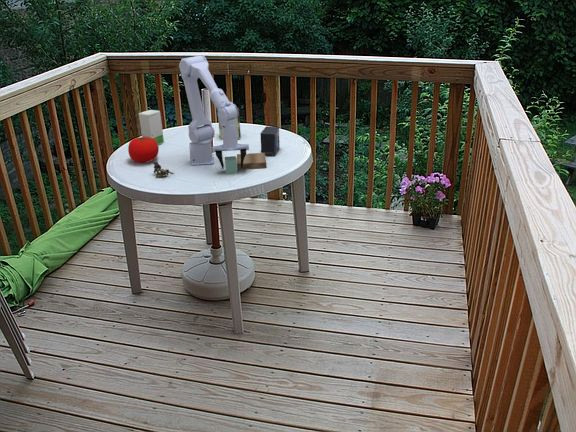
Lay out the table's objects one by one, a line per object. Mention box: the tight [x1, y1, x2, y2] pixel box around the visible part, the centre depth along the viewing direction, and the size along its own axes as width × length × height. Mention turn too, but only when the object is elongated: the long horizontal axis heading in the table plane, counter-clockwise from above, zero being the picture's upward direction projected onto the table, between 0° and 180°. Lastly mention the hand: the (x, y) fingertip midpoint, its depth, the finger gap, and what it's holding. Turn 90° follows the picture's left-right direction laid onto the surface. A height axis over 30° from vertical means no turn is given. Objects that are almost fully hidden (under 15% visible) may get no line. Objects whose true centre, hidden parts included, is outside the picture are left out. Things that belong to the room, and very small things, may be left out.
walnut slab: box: [236, 152, 267, 171], centre depth 240 cm, size 12×12×2 cm
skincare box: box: [138, 109, 165, 146], centre depth 265 cm, size 8×7×16 cm
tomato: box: [127, 136, 160, 164], centre depth 246 cm, size 14×13×10 cm
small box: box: [259, 125, 281, 157], centre depth 251 cm, size 11×6×10 cm, turn 168°
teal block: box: [224, 155, 238, 175], centre depth 231 cm, size 4×4×6 cm
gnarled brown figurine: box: [153, 161, 174, 179], centre depth 231 cm, size 12×6×11 cm
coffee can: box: [216, 107, 242, 141], centre depth 270 cm, size 10×10×14 cm
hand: (232, 167), depth 232 cm, fingers open, 7 cm apart
